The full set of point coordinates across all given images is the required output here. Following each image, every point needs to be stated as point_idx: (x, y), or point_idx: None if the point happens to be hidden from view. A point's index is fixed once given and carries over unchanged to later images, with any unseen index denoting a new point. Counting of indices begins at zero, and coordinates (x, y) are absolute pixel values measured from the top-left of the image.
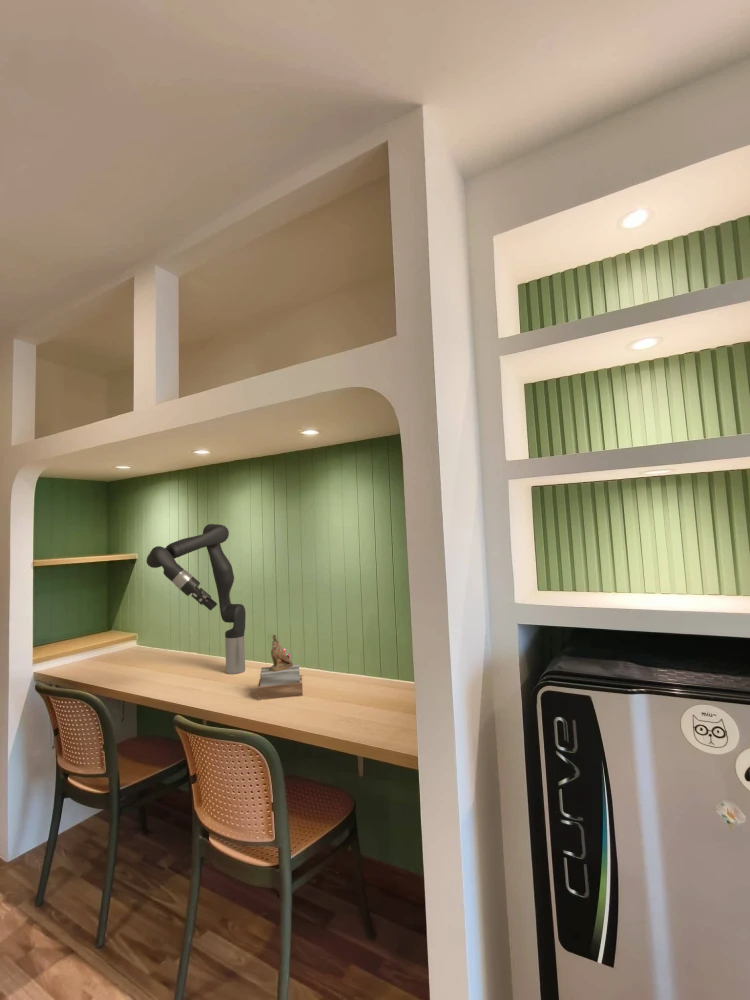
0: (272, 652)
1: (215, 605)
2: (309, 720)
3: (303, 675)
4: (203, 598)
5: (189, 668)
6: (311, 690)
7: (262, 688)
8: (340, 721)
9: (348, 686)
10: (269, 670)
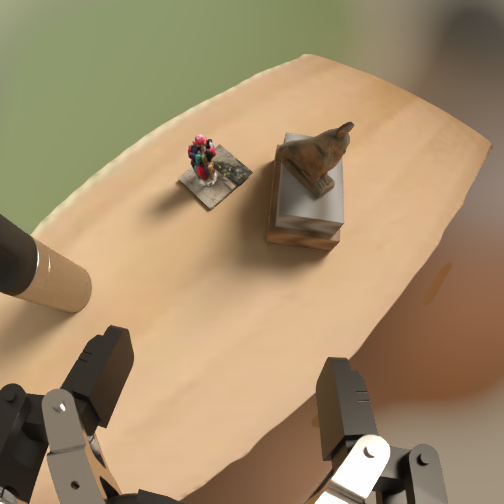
0: (332, 163)
1: (128, 343)
2: (436, 188)
3: (219, 145)
4: (433, 475)
5: None
6: None
7: (339, 232)
8: (440, 157)
9: (304, 101)
10: (318, 197)
